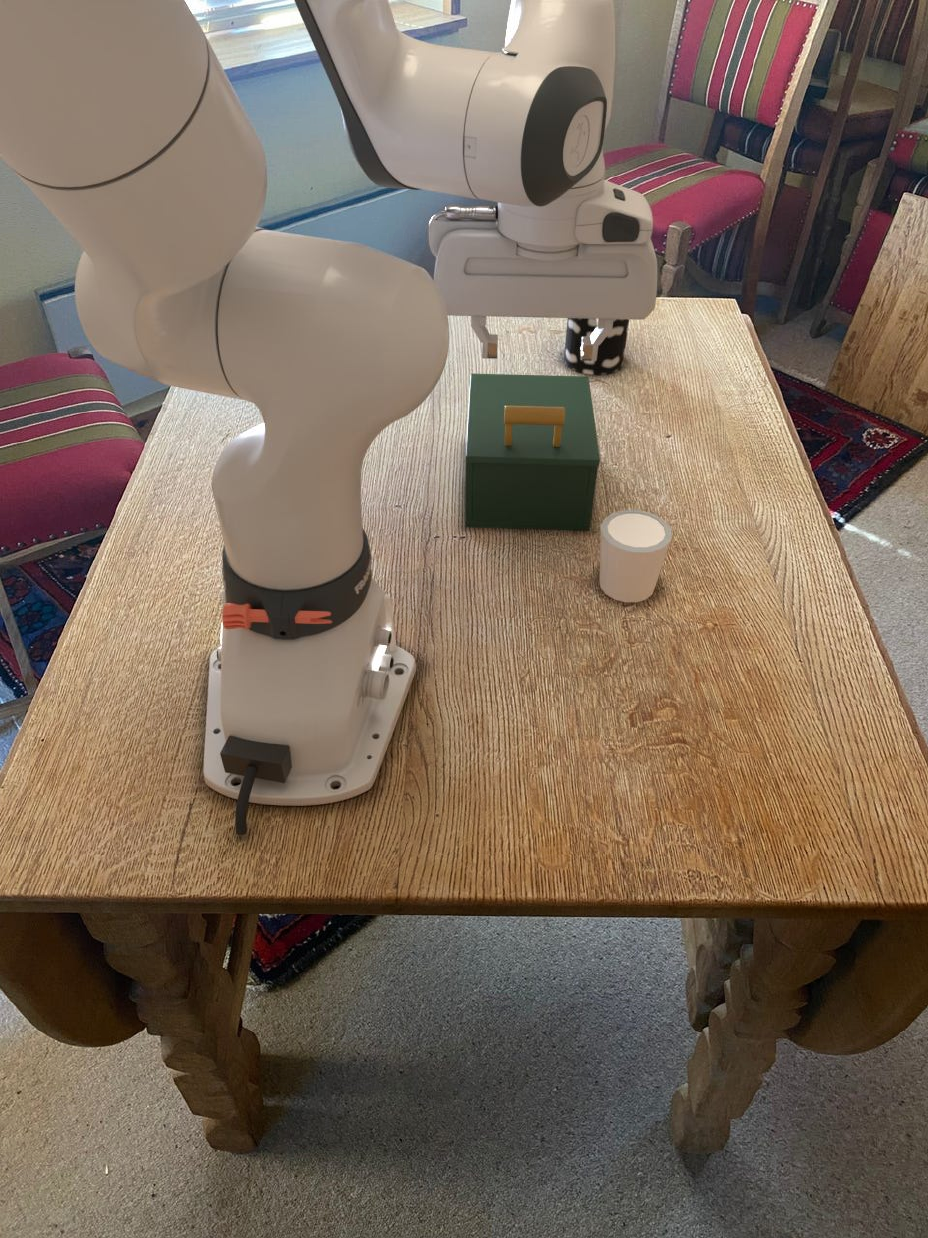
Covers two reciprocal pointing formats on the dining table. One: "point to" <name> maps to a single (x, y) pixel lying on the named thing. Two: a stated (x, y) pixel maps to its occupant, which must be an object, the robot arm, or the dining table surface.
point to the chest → (529, 496)
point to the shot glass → (632, 554)
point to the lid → (531, 420)
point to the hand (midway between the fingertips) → (538, 356)
